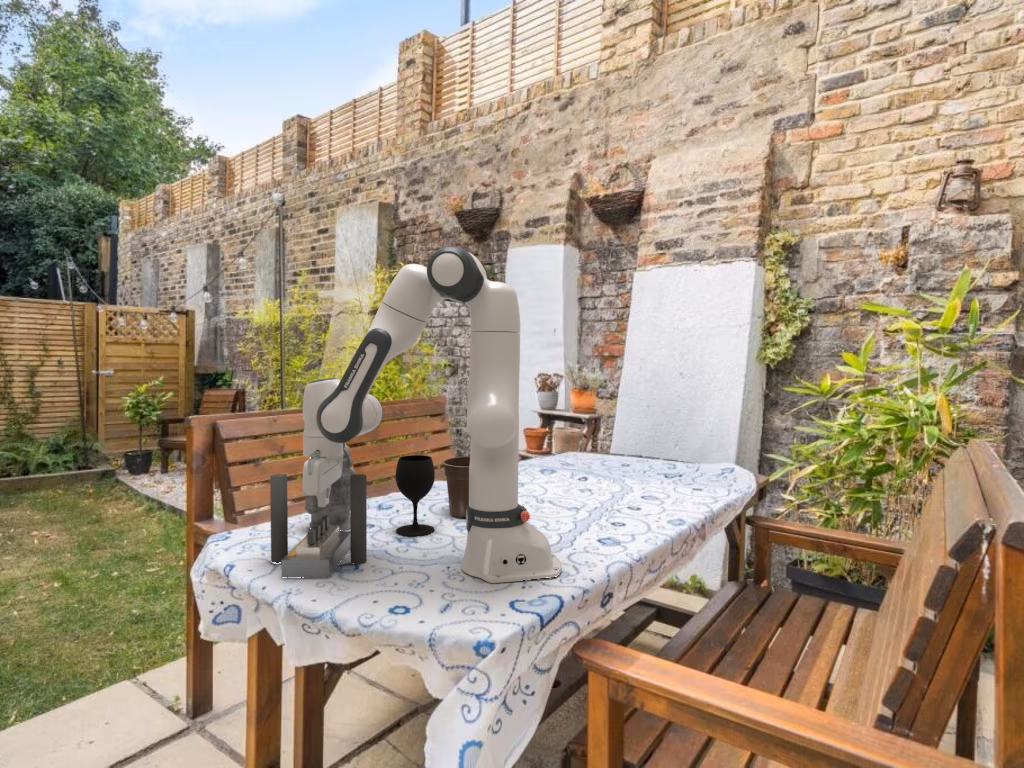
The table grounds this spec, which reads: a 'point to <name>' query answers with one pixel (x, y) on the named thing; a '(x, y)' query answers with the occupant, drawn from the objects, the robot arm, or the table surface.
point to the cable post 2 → (358, 519)
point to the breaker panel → (317, 562)
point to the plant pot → (457, 484)
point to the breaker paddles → (318, 529)
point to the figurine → (335, 499)
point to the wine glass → (415, 488)
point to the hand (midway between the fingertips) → (323, 505)
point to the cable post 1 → (279, 517)
